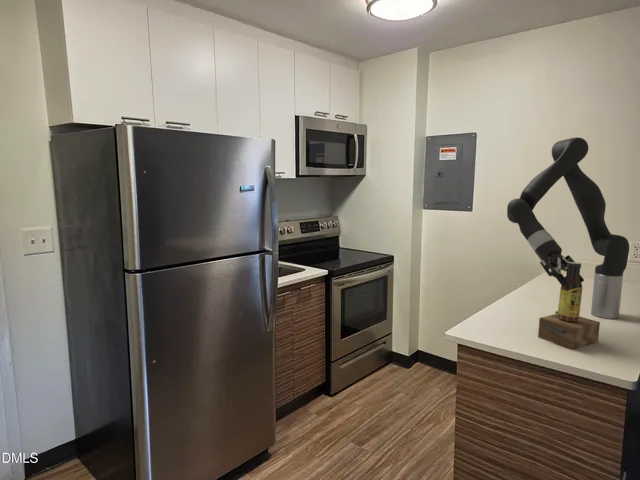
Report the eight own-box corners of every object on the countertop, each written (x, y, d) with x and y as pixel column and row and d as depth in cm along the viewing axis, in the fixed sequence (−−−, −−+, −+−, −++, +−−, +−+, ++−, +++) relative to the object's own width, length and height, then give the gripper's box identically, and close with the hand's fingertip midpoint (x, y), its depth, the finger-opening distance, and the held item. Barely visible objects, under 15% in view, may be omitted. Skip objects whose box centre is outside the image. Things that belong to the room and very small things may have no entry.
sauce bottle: (571, 323, 132) (577, 265, 129) (553, 318, 138) (558, 261, 135) (583, 321, 135) (589, 263, 132) (564, 315, 141) (570, 260, 138)
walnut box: (562, 330, 146) (564, 312, 145) (598, 342, 135) (599, 322, 134) (536, 337, 139) (538, 318, 138) (571, 350, 128) (573, 329, 127)
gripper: (538, 240, 137) (569, 279, 128) (564, 237, 143) (595, 275, 134) (523, 253, 142) (552, 292, 133) (549, 250, 148) (577, 287, 140)
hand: (573, 283), depth 134 cm, fingers open, 8 cm apart
